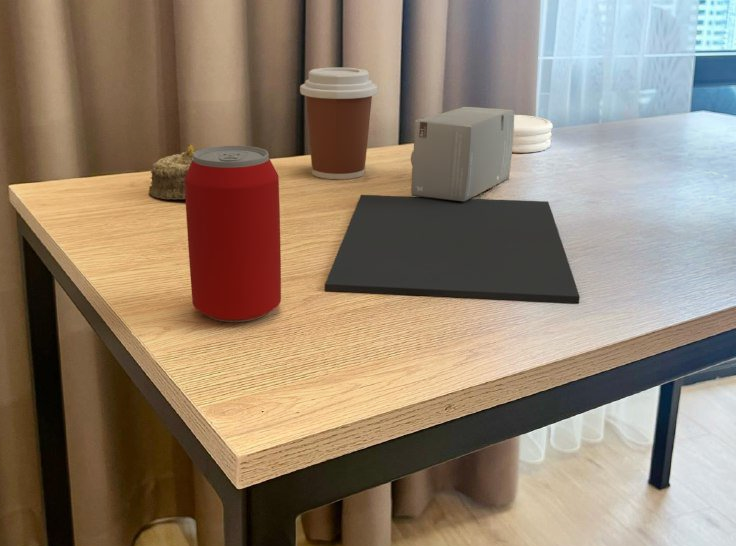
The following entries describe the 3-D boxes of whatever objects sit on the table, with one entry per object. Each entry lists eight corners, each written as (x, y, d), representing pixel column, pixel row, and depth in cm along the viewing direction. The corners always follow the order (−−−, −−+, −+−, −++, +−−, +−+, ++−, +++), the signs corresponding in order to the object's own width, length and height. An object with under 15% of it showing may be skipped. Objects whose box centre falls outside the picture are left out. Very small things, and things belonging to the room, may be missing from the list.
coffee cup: (356, 185, 104) (358, 78, 99) (287, 176, 107) (285, 73, 102) (387, 168, 111) (390, 69, 106) (321, 161, 115) (321, 64, 110)
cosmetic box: (510, 177, 107) (471, 208, 94) (453, 171, 110) (407, 200, 96) (516, 105, 104) (477, 126, 91) (457, 101, 107) (411, 120, 93)
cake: (155, 211, 95) (147, 161, 93) (144, 189, 104) (136, 143, 102) (247, 196, 98) (240, 147, 96) (228, 176, 107) (222, 131, 104)
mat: (547, 206, 95) (548, 201, 95) (579, 303, 70) (579, 296, 70) (360, 199, 98) (360, 194, 98) (324, 290, 72) (324, 283, 72)
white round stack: (509, 135, 130) (511, 111, 129) (565, 147, 123) (568, 121, 122) (462, 144, 125) (463, 119, 123) (518, 157, 117) (520, 130, 116)
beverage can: (282, 293, 72) (279, 143, 67) (281, 326, 65) (277, 163, 61) (197, 294, 71) (187, 143, 67) (188, 328, 65) (177, 164, 60)
